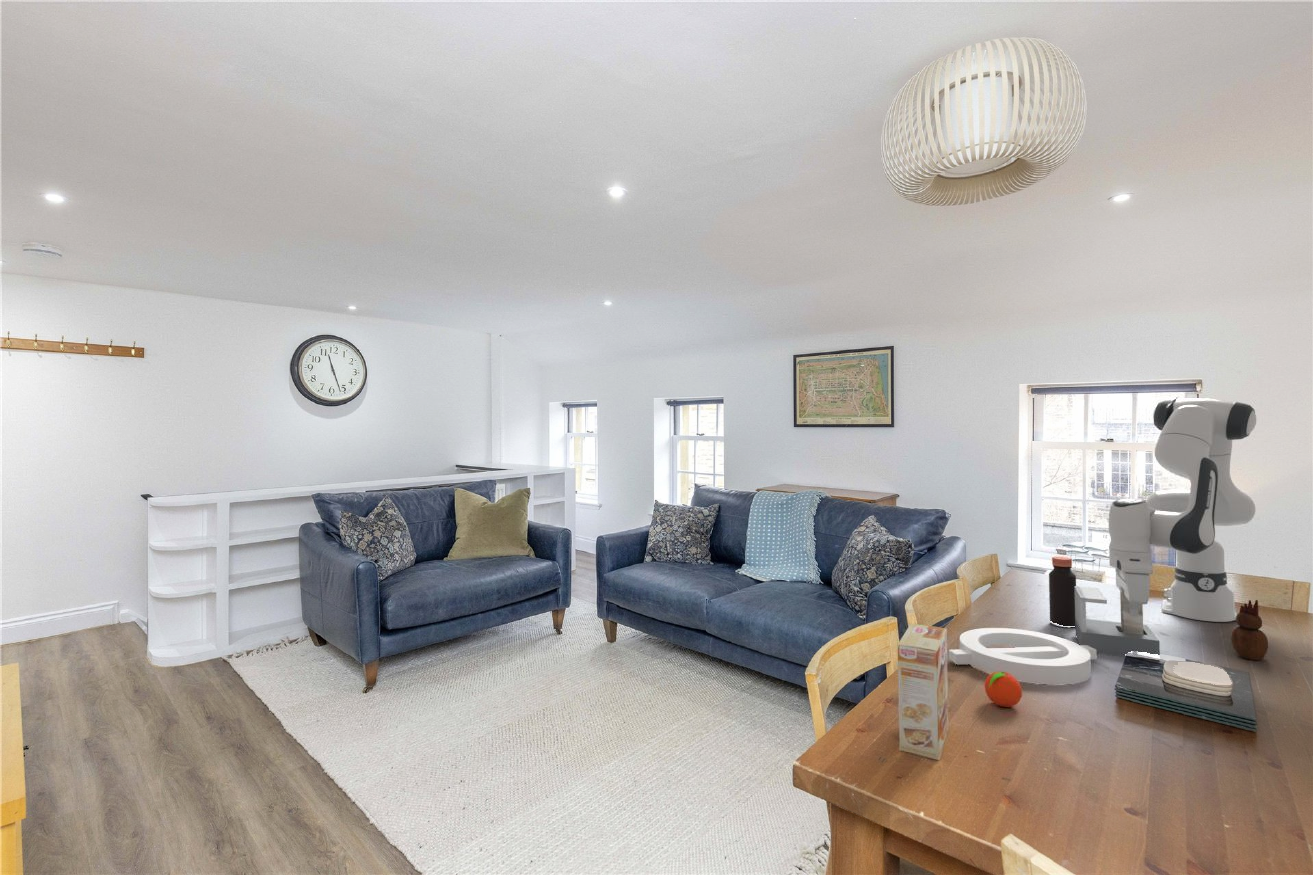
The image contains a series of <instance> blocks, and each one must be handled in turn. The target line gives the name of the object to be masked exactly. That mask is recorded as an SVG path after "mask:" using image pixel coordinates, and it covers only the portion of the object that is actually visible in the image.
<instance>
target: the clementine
mask: <svg viewBox="0 0 1313 875" xmlns="http://www.w3.org/2000/svg"><path fill="white" fill-rule="evenodd" d="M1020 683H1021V682H1018V681H1017V679H1016V678H1015V677H1013V676H1012V675H1011V674H1009V673H1006V672H994V673H992V674H988V675H987V677H986V679H985V681H984V690H985V694H986V696H987V698H988V699H989V700H991V702H993V703H994V704H995V705H998V706H1000V707H1004V708H1010V707H1013V706H1016V705H1017V704H1018V703H1020V701H1021V699H1022V696H1023V695H1022V694H1023V690H1022V686H1021V684H1020Z"/></svg>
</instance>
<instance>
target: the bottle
mask: <svg viewBox="0 0 1313 875" xmlns="http://www.w3.org/2000/svg"><path fill="white" fill-rule="evenodd" d="M1051 562H1052V563H1051V565H1052V567H1053V569H1052V570H1051V571H1050V572H1049V573H1048V592H1049V595H1048V596H1049V599H1048V600H1049V622H1050V621H1052V622H1053V623H1057V624H1059V625H1063V626H1075V587H1074V586H1077V576H1076V574H1075V573H1074V572H1073V571H1072V570H1071V569H1072V568H1073V567H1072V566H1073V559H1072V558H1071V557H1068V556H1052V557H1051Z"/></svg>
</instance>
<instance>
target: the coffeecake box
mask: <svg viewBox="0 0 1313 875" xmlns="http://www.w3.org/2000/svg"><path fill="white" fill-rule="evenodd" d="M947 633H948V629H947V627H946V628H945V627H940V626H934V625H926V624H925V625H924V624H918V623H910V624H909V626H908V627H907V629H906V631H905V632H904V634H903V636H902V637H901V639H900V640H899V641H898V642H897V673H898V675H897V676H898V679H897V680H898V681H897V682H898V685H897V686H898V687H897V688H898V732H899V733H898V735H899V736H898V738H899V741H898V742H899V744H898V745H899V748H898V750H899V751H900V752H905V753H909V754H912V755H913V754H914V755H918V756H921V757H924V758H928V759H933V760H936V761H940V759H941V756H942V752H943V749H944V745H945V741H946V738H947V734H948V730H949V701H948V700H949V696H948V695H949V690H948V640H947V639H948V638H947V637H948V636H947V635H948V634H947Z"/></svg>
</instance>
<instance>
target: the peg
mask: <svg viewBox="0 0 1313 875" xmlns="http://www.w3.org/2000/svg"><path fill="white" fill-rule="evenodd" d="M1119 596H1120V599H1119V601H1120V623H1121V632H1123V633H1132V634H1141V635H1143V625H1144V611H1143V610H1144V606H1143V605H1144V604H1140V606H1139V615H1138V616H1137V617H1135V616H1131V615H1130V614H1129V600H1128V599H1127V598H1126V597H1125V596H1124V589H1123V588H1122V587H1121V586H1120V590H1119Z"/></svg>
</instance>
